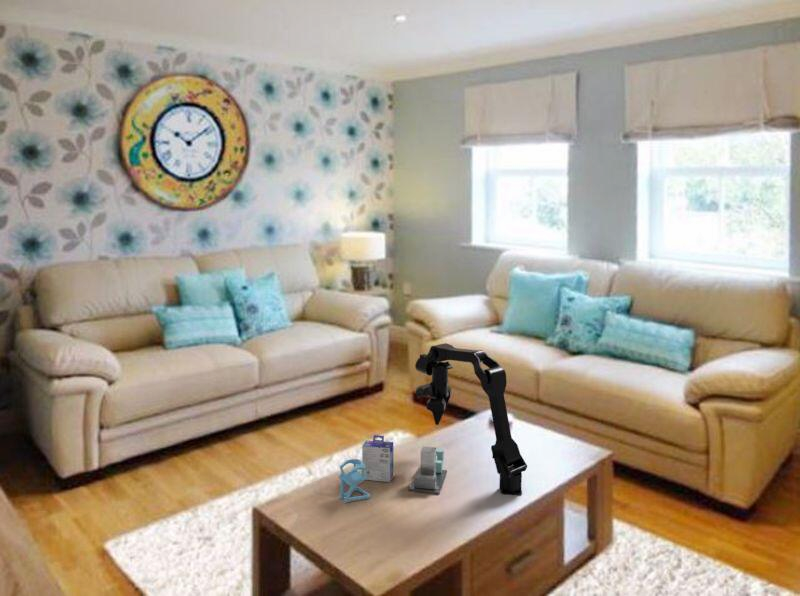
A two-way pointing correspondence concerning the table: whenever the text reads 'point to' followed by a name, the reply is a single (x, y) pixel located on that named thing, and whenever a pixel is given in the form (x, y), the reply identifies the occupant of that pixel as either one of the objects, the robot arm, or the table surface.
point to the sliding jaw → (439, 460)
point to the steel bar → (428, 461)
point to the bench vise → (427, 482)
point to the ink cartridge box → (378, 459)
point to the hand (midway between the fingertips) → (439, 420)
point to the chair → (352, 480)
